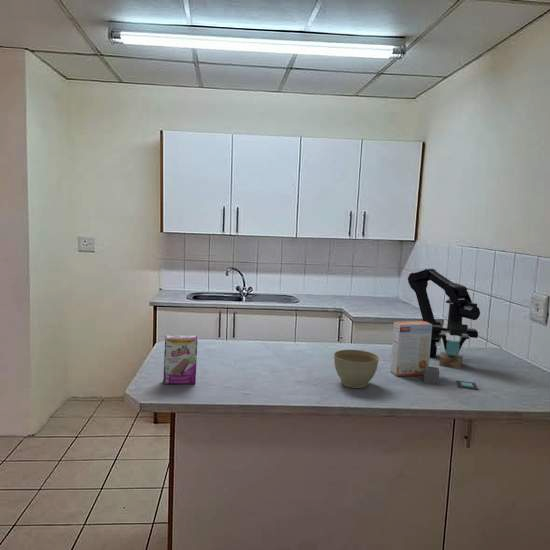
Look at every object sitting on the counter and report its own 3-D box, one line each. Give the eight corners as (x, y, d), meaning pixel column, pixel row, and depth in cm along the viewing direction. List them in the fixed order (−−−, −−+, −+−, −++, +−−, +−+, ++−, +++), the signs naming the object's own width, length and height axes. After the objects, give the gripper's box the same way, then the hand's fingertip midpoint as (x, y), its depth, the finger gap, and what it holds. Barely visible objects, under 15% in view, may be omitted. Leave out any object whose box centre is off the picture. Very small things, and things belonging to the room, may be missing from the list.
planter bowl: (340, 374, 193) (342, 346, 192) (381, 382, 186) (384, 354, 185) (325, 385, 179) (327, 356, 178) (368, 395, 172) (371, 365, 171)
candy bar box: (163, 385, 171) (164, 338, 169) (163, 380, 176) (164, 334, 174) (196, 384, 173) (197, 338, 171) (195, 379, 178) (196, 334, 176)
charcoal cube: (424, 382, 189) (425, 369, 188) (423, 378, 194) (424, 366, 193) (438, 384, 188) (439, 371, 187) (437, 380, 193) (438, 367, 192)
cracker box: (420, 371, 203) (425, 320, 200) (428, 375, 197) (433, 324, 195) (389, 371, 200) (393, 320, 197) (396, 376, 194) (400, 324, 191)
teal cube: (446, 353, 212) (447, 342, 212) (444, 350, 217) (446, 339, 216) (458, 355, 211) (459, 343, 211) (457, 352, 216) (458, 341, 215)
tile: (458, 387, 185) (458, 386, 185) (455, 381, 192) (455, 380, 192) (478, 389, 184) (478, 388, 184) (475, 383, 191) (475, 382, 191)
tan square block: (439, 366, 212) (440, 357, 212) (439, 360, 221) (440, 352, 220) (461, 369, 209) (462, 360, 209) (461, 364, 217) (462, 355, 217)
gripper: (434, 316, 206) (430, 353, 208) (482, 321, 202) (477, 358, 204) (432, 311, 217) (428, 346, 219) (477, 315, 213) (473, 351, 215)
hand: (451, 350), depth 214 cm, fingers closed on teal cube, 5 cm apart
